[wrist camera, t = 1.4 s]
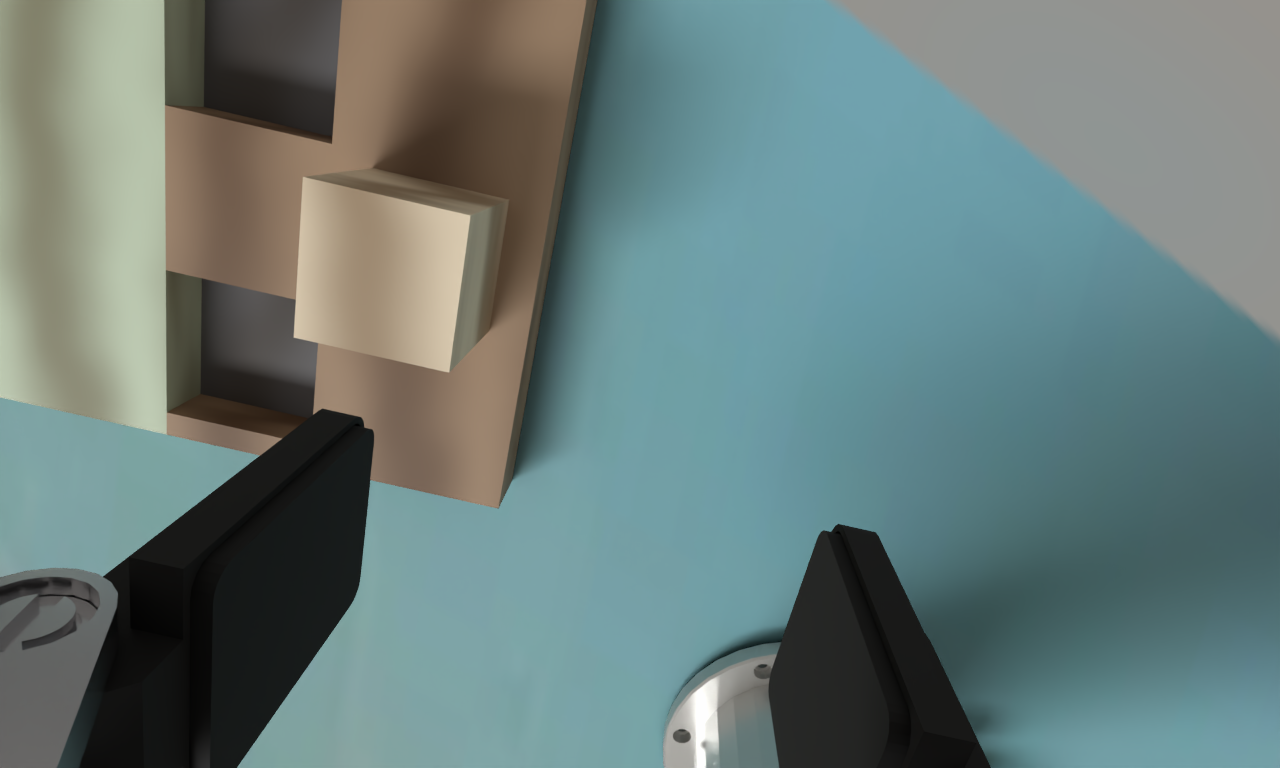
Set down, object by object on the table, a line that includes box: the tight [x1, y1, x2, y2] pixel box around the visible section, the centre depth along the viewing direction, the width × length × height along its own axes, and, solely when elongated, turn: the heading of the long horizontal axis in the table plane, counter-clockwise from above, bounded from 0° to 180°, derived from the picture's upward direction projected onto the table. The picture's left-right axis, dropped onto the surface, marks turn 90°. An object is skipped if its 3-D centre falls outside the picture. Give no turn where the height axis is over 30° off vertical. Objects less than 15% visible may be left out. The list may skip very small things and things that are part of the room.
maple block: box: [294, 168, 509, 373], centre depth 24 cm, size 5×5×5 cm
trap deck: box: [0, 0, 597, 508], centre depth 28 cm, size 22×20×2 cm
